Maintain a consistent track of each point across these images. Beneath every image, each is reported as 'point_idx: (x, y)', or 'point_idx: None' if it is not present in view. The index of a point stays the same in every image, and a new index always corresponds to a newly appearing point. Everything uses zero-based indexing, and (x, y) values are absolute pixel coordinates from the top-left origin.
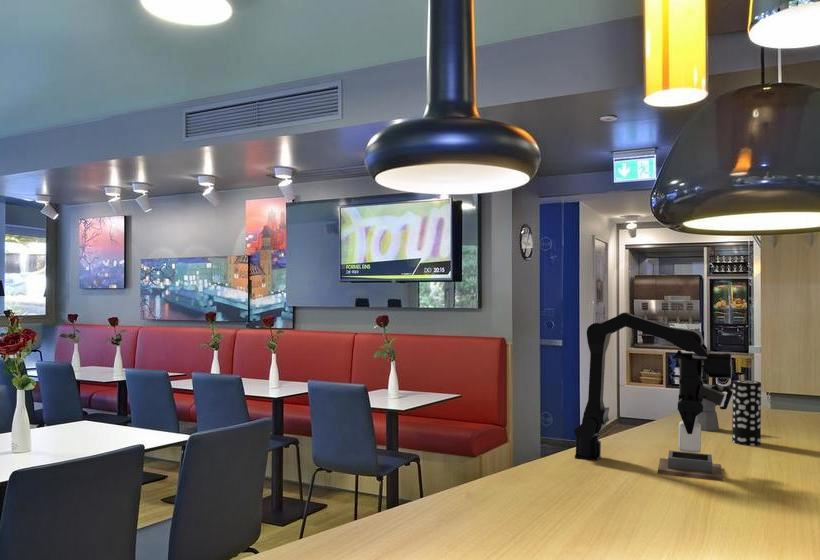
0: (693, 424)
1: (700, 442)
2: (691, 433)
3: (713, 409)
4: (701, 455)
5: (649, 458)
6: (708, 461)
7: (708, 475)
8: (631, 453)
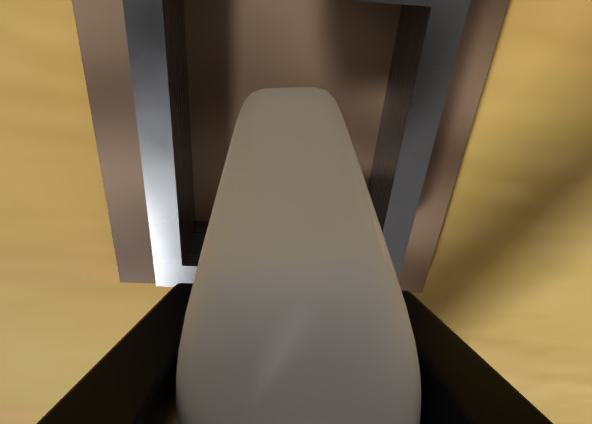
0: (531, 414)
1: (341, 125)
2: (413, 298)
3: None
4: (167, 47)
5: (82, 312)
6: (461, 6)
7: (506, 2)
8: (24, 380)
